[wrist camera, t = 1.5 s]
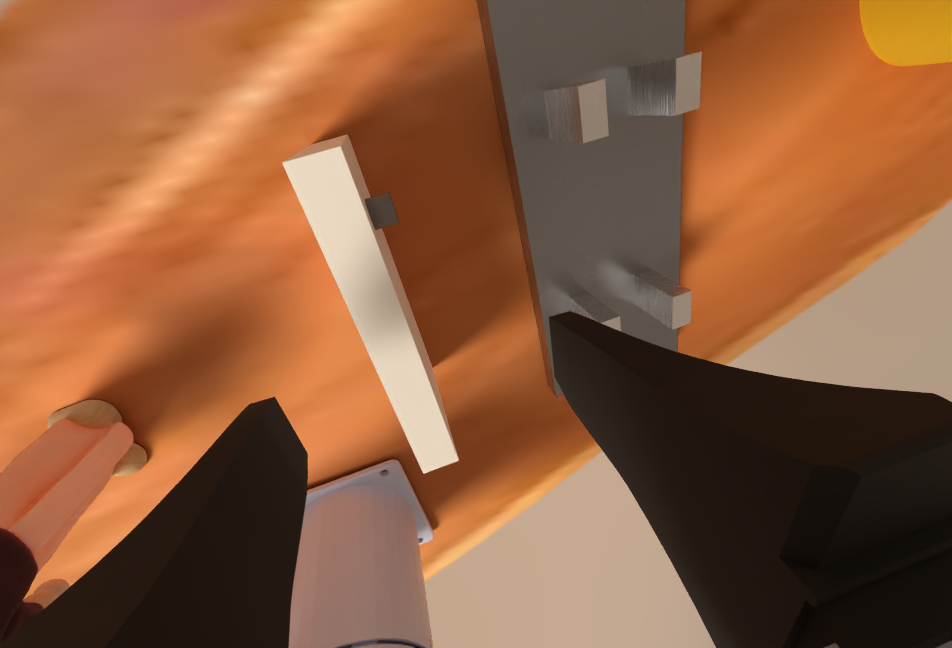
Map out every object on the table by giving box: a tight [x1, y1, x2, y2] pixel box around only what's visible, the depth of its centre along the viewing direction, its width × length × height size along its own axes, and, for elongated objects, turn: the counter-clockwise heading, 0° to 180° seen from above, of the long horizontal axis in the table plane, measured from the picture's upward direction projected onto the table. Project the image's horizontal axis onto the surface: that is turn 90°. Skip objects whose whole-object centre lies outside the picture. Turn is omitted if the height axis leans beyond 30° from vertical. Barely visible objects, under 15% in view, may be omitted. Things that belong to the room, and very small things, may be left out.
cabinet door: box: [282, 134, 459, 474], centre depth 16 cm, size 2×12×7 cm, turn 13°
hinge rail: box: [477, 0, 702, 397], centre depth 18 cm, size 8×20×4 cm, turn 13°
